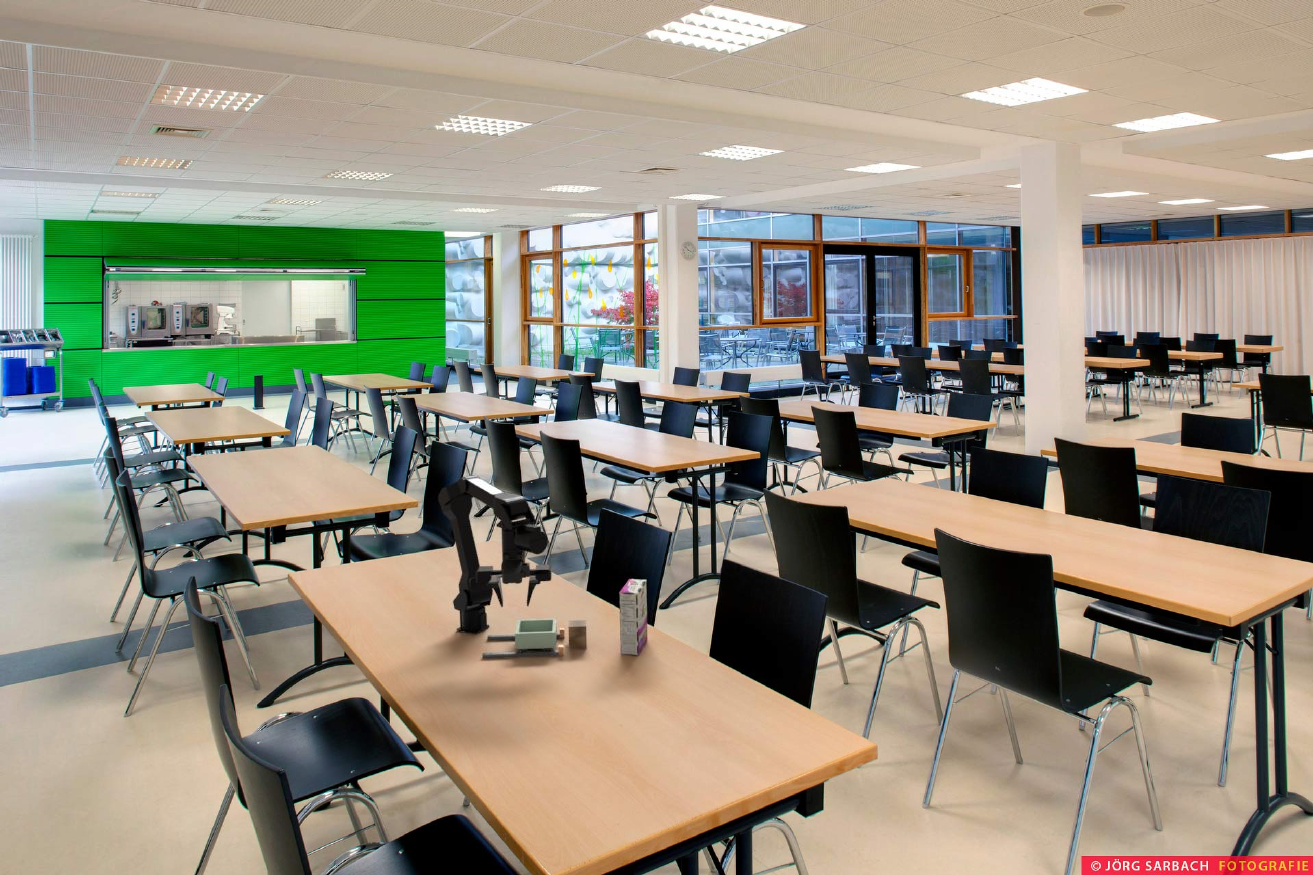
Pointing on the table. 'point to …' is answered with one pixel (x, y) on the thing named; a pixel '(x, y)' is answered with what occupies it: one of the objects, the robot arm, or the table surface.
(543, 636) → the sage green storage bin
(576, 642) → the walnut block
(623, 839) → the table surface
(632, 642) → the candy bar box
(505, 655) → the rails
